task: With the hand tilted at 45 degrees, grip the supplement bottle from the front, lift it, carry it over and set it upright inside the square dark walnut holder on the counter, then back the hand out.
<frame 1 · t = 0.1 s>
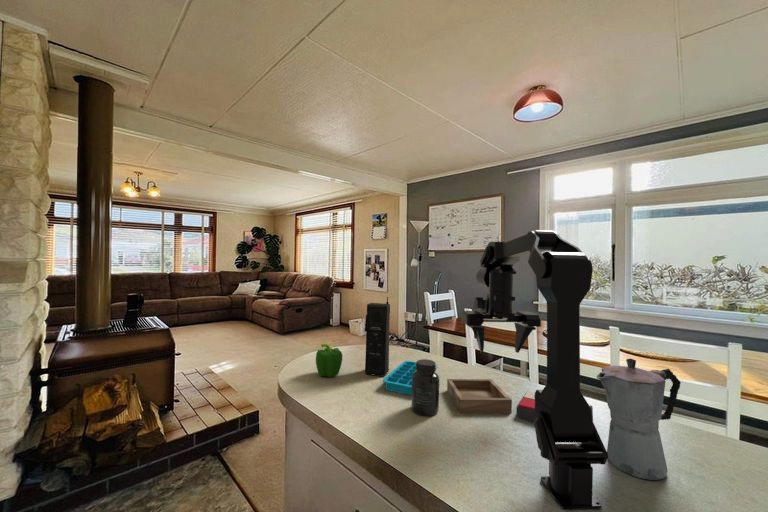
hand: (499, 352, 79), 15 cm above the counter, tool pointing down, fingers open, 9 cm apart
supplement bottle: (424, 410, 78), on the counter
holder: (476, 400, 84), on the counter
ice cube tray: (411, 383, 96), on the counter
bell pepper: (328, 375, 100), on the counter
moka pot: (636, 465, 59), on the counter
portable radio: (375, 373, 103), on the counter
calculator: (554, 420, 76), on the counter
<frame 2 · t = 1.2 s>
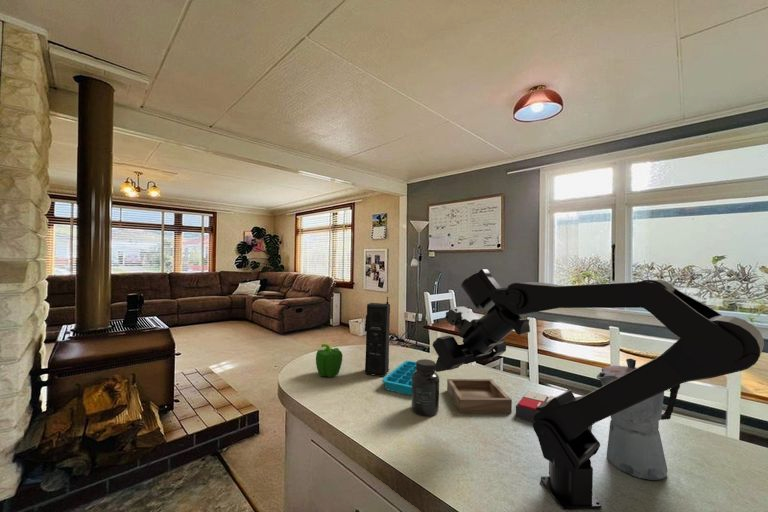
hand: (449, 365, 72), 13 cm above the counter, tool tilted 45°, fingers open, 9 cm apart
nothing on the counter moved.
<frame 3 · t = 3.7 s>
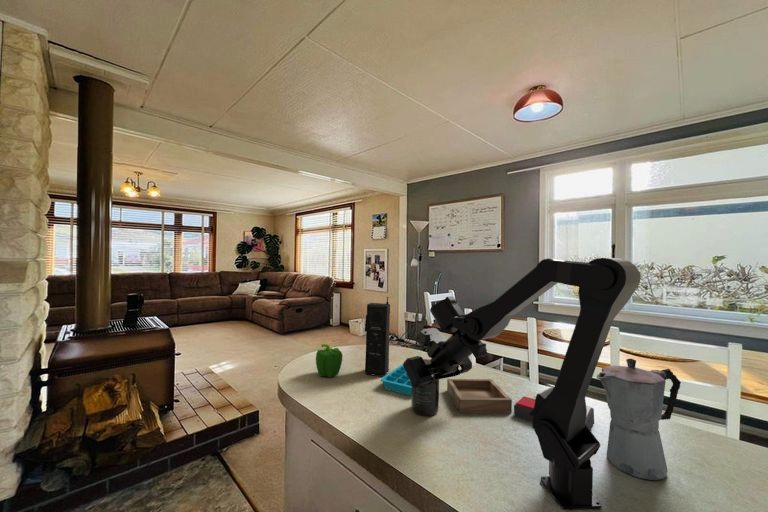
hand: (421, 381, 80), 7 cm above the counter, tool tilted 45°, fingers closed on supplement bottle, 6 cm apart
supplement bottle: (424, 410, 78), on the counter, touching gripper
everything else where it was.
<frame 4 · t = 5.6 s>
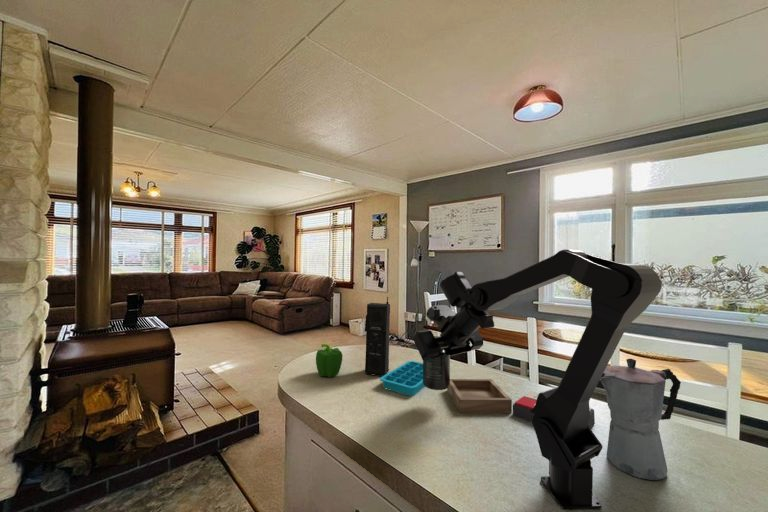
hand: (433, 357, 81), 12 cm above the counter, tool tilted 45°, fingers closed on supplement bottle, 6 cm apart
supplement bottle: (436, 385, 80), point 5 cm above the counter, touching gripper
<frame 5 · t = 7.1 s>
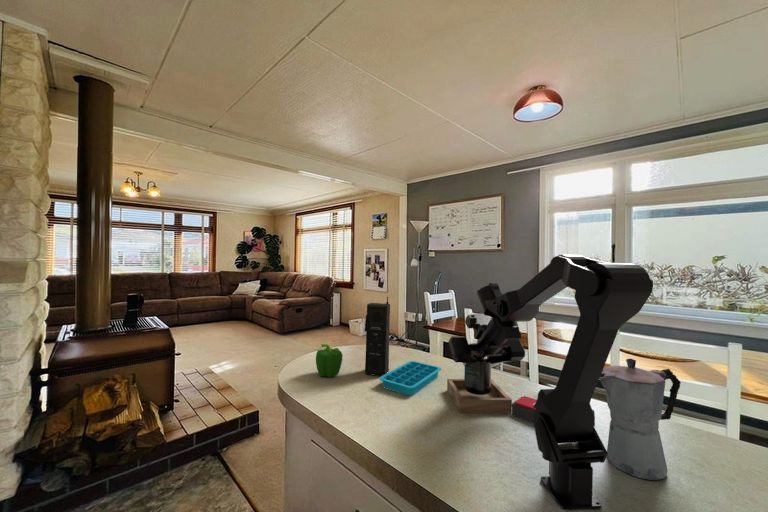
hand: (475, 363, 85), 10 cm above the counter, tool tilted 45°, fingers closed on supplement bottle, 6 cm apart
supplement bottle: (477, 390, 84), point 3 cm above the counter, touching gripper
when the fingers open (9 cm above the counter, at t = 7.8 s): supplement bottle drops 1 cm, resting on holder.
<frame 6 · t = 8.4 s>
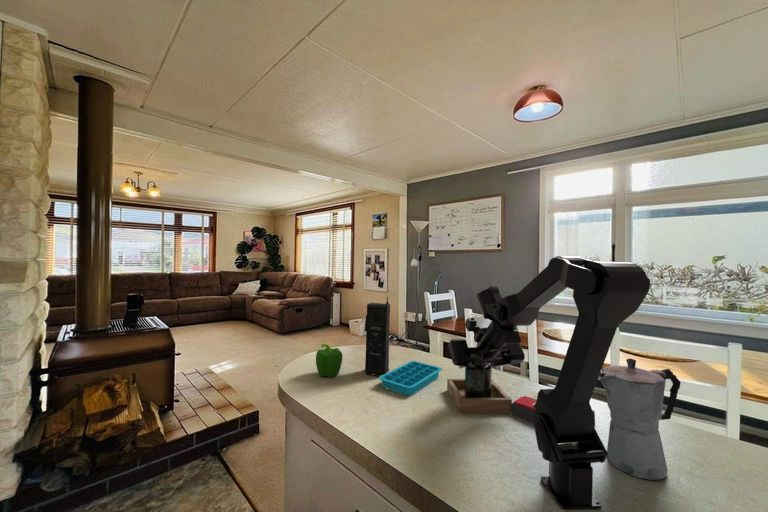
hand: (475, 366, 85), 9 cm above the counter, tool tilted 45°, fingers open, 9 cm apart
supplement bottle: (477, 399, 84), point 1 cm above the counter, touching holder
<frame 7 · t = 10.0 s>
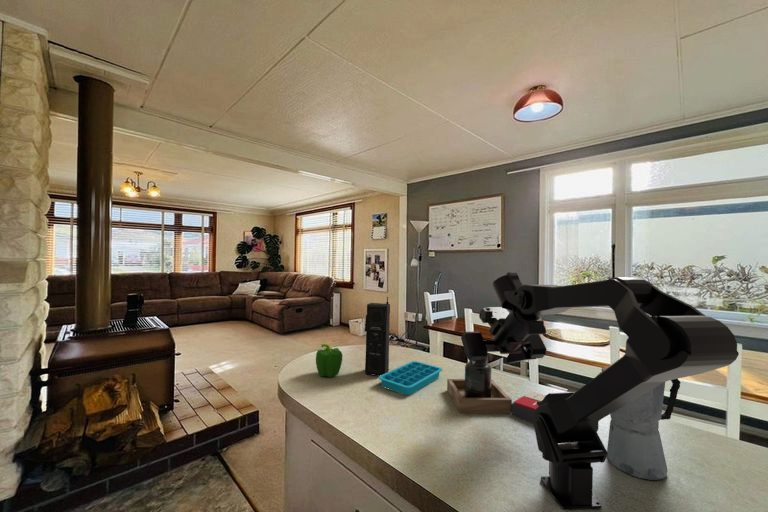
hand: (490, 361, 77), 13 cm above the counter, tool tilted 45°, fingers open, 9 cm apart
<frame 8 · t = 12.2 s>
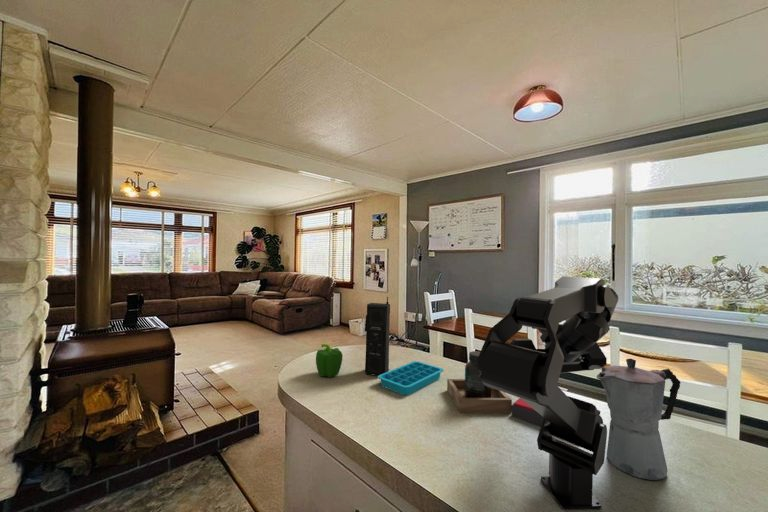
hand: (537, 372, 69), 14 cm above the counter, tool tilted 45°, fingers open, 9 cm apart
at the end: supplement bottle 0.4 cm off-centre on the holder, point 0.6 cm above the holder's base; supplement bottle tilted 0°; the gripper is holding nothing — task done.
